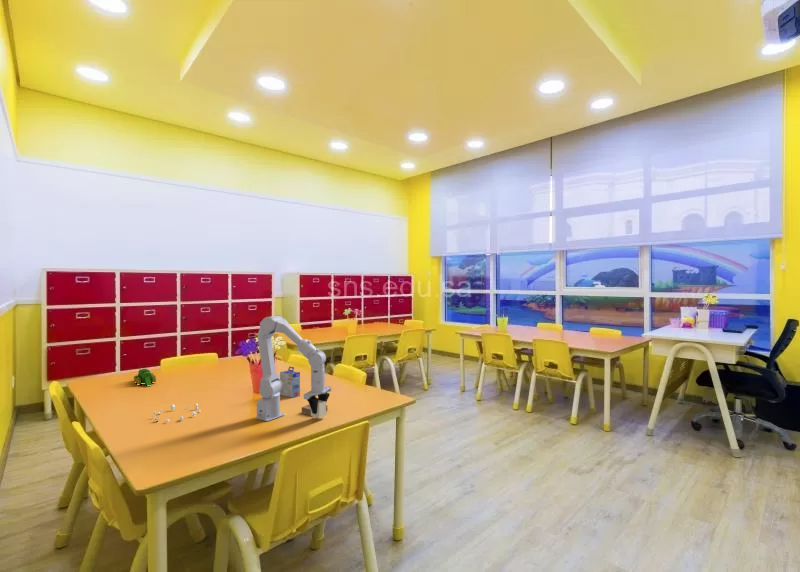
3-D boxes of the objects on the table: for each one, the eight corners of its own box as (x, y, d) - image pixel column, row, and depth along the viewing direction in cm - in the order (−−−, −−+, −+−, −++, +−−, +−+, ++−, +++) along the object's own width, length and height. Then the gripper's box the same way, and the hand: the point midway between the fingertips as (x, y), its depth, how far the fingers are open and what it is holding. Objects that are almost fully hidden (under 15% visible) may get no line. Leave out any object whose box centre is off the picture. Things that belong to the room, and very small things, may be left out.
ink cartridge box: (301, 395, 204) (300, 367, 203) (292, 398, 199) (292, 369, 199) (287, 392, 209) (287, 365, 209) (279, 395, 204) (278, 367, 204)
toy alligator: (147, 376, 252) (147, 362, 252) (158, 385, 228) (158, 370, 228) (129, 379, 246) (129, 365, 246) (139, 389, 222) (138, 373, 222)
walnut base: (314, 417, 172) (314, 410, 172) (301, 413, 176) (301, 407, 176) (327, 411, 178) (327, 405, 178) (314, 408, 183) (314, 402, 183)
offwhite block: (319, 418, 165) (319, 403, 165) (310, 415, 168) (310, 402, 168) (326, 415, 169) (325, 401, 169) (317, 413, 171) (317, 399, 171)
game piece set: (155, 413, 181) (154, 404, 181) (203, 406, 189) (203, 398, 188) (146, 427, 163) (146, 418, 163) (200, 419, 171) (200, 411, 171)
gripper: (312, 385, 160) (312, 418, 160) (336, 377, 172) (336, 408, 172) (299, 383, 164) (300, 415, 164) (324, 375, 176) (325, 405, 176)
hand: (318, 411), depth 168 cm, fingers closed on offwhite block, 4 cm apart
